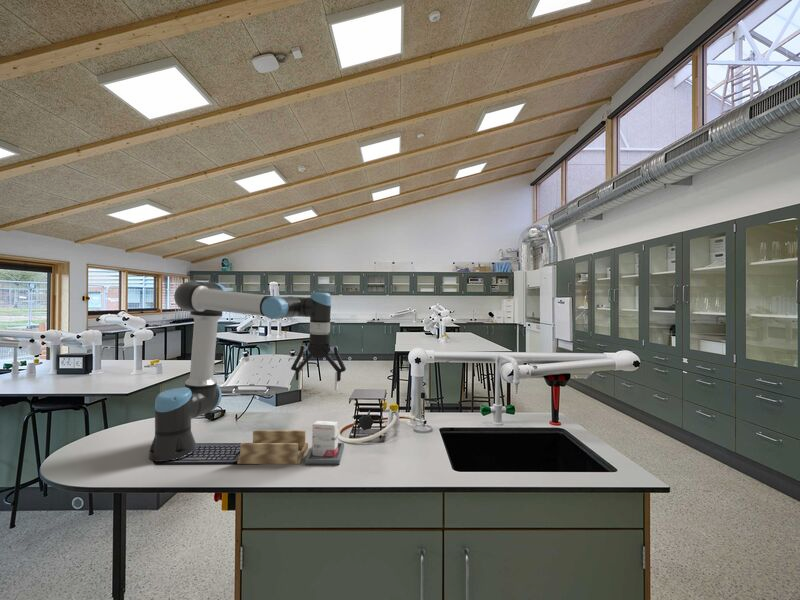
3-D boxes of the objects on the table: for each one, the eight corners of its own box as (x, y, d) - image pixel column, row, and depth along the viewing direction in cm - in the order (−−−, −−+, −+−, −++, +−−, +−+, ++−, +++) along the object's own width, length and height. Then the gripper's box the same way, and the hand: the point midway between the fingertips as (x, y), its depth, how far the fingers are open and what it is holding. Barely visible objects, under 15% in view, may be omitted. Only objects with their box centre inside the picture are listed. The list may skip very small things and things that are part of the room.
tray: (305, 465, 136) (305, 460, 136) (313, 447, 152) (313, 442, 152) (339, 464, 137) (339, 459, 137) (344, 447, 153) (344, 442, 153)
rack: (237, 463, 136) (237, 444, 136) (251, 448, 150) (251, 430, 150) (300, 463, 137) (300, 444, 137) (307, 448, 151) (308, 430, 151)
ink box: (338, 452, 146) (338, 421, 146) (334, 457, 141) (334, 425, 141) (316, 450, 147) (316, 419, 147) (311, 455, 142) (312, 424, 142)
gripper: (283, 333, 142) (282, 390, 142) (351, 335, 142) (350, 392, 143) (289, 331, 149) (287, 385, 150) (353, 333, 150) (351, 387, 150)
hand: (318, 389), depth 146 cm, fingers open, 13 cm apart
